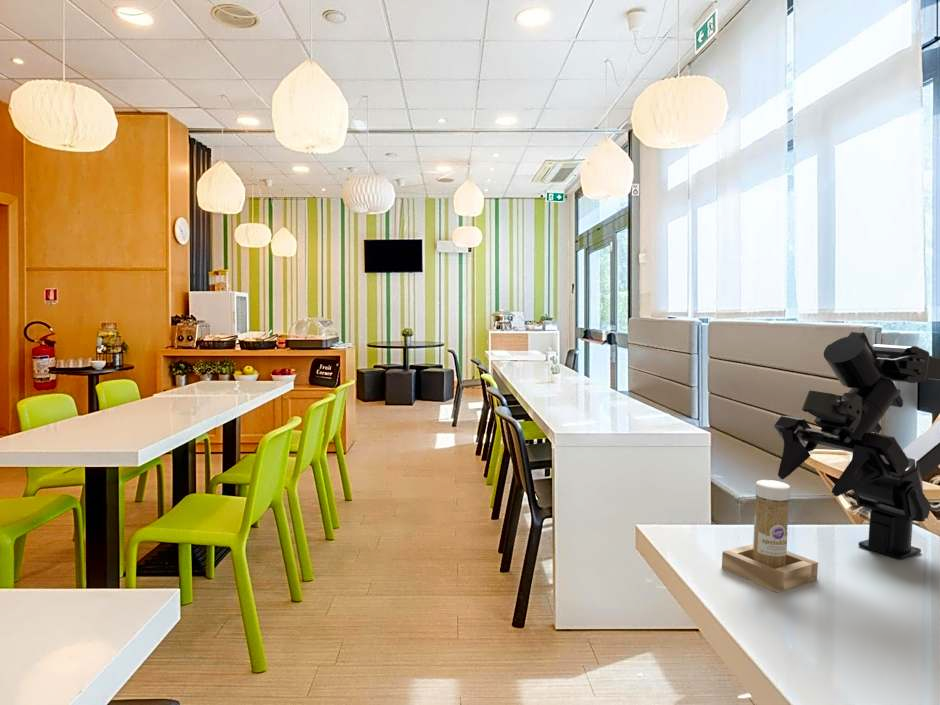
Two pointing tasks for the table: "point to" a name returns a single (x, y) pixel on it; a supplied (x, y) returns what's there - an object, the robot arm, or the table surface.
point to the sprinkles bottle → (771, 523)
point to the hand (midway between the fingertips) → (805, 485)
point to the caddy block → (770, 569)
